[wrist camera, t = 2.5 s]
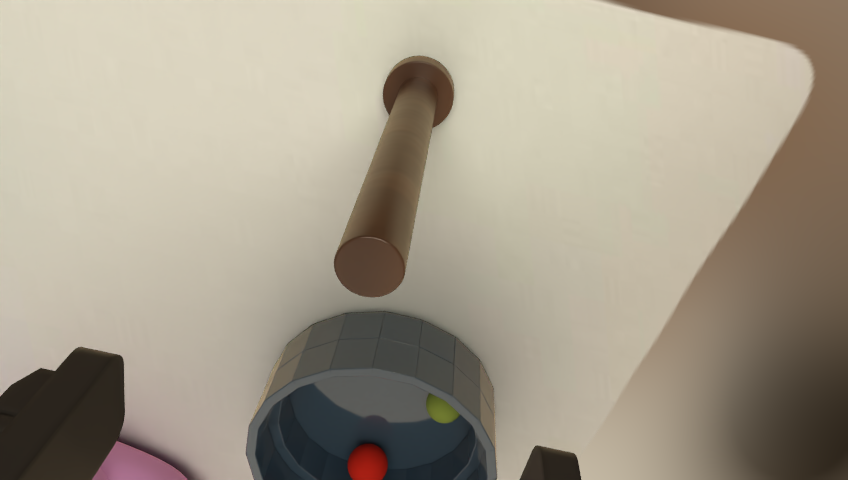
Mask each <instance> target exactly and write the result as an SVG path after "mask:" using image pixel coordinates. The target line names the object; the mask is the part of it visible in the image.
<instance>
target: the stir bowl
mask: <svg viewBox="0 0 848 480" xmlns="http://www.w3.org/2000/svg"><path fill="white" fill-rule="evenodd" d="M429 393H430V394H432V395H434V396H436V397H438V398H440V399H442V400H444V401H446V402H447V403H448V404H449V405H450V406H452V407H453V408H454V409H455V410H456V411H457V412H458V413H459V414H460V415H459V417H458V418H457V419H456V420H454V421H452V422H450V423H439V422H437V421H435V420H433V419H432V418H431V417H430V415H429V414H428V412H427V408H426V400H427V397H428V395H429ZM362 444H374V445H377V446H378V447H380V448H381V449H382V450H383V451H384V453H385V454H386V457H387V460H388V468H387V472H386V474H385V476H384V478H383V479H382V480H496V479H497V460H496V431H495V408H494V392H493V386H492V384H491V382H490V380H489V378H488V376H487V374H486V372H485V370H484V368H483V366H482V364H481V362H480V360H479V359H478V358H477V357H476V356H475V355H474V354H473V353H472V352H471V351H470V350H469V349H468V348H466V347H465V346H464V345H463V344H462V343H461V342H460V341H459V340H458V339H457V338H456V337H454V336H452V335H450V334H449V333H447V332H445V331H443V330H441V329H439V328H437V327H435V326H433V325H431V324H429V323H427V322H425V321H422V320H421V319H416V318H411V317H407V316H402V315H398V314H393V313H389V312H362V313H346V314H343V315H340V316H337V317H334V318H331V319H328V320H324V321H321V322H318V323H315V324H313V325H312V326H311V327H309V328H308V329H307V330H305V331H304V332H303V333H301V334H300V335H299V336H297V337H296V338H295V339H293V340H292V341H291V342H289V344H288V345H287V346H286V348H285V349H284V351H283V353H282V354H281V356H280V358H279V359H278V361H277V363H276V364H275V366H274V368H273V370H272V373H271V375H270V377H269V380H268V382H267V384H266V387H265V389H264V391H263V394H262V396H261V398H260V401H259V403H258V405H257V408H256V410H255V412H254V415H253V417H252V419H251V422H250V424H249V428H248V437H247V446H246V456H247V459H248V462H249V465H250V468H251V471H252V474H253V477H254V480H353V479H352V478H351V477H350V475H349V472H348V465H347V464H348V459H349V456H350V454H351V453H352V451H353V450H354V449H355V448H357V447H358V446H360V445H362Z"/></svg>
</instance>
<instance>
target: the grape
mask: <svg viewBox="0 0 848 480" xmlns="http://www.w3.org/2000/svg"><path fill="white" fill-rule="evenodd" d="M426 408H427V412H428V414H429V415H430V417H431V418H432V419H433V420H435V421H437V422H439V423H450V422H452V421H454V420H456V419H457V418H458V417H459V415H460V414H459V413H458V412H457V411H456V410H455V409H454V408H453V407H452V406H450V405H449V404H448V403H447V402H446V401H444V400H442V399H440V398H438V397H436V396H434V395H432V394H430V393H429V395H428V397H427V400H426Z"/></svg>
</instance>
